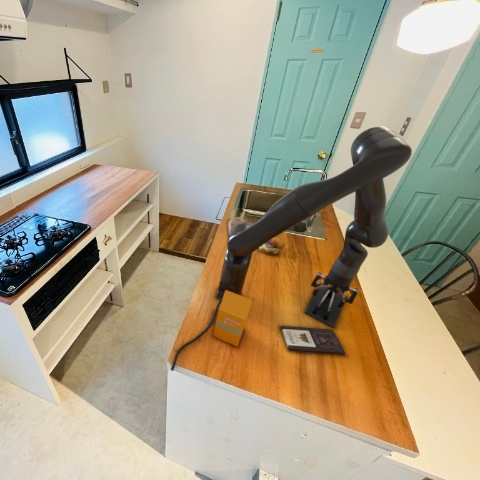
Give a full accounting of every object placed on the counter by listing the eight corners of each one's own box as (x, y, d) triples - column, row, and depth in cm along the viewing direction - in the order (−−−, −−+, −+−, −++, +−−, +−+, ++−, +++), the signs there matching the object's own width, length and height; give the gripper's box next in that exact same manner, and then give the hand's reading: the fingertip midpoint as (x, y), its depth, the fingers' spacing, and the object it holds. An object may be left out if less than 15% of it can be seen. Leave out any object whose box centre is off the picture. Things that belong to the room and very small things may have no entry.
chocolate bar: (345, 352, 84) (289, 348, 85) (344, 354, 84) (289, 350, 85) (332, 329, 91) (281, 325, 92) (331, 331, 92) (280, 327, 93)
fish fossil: (248, 243, 135) (248, 241, 135) (228, 241, 137) (228, 240, 137) (245, 218, 156) (245, 216, 155) (227, 217, 158) (228, 215, 157)
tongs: (323, 290, 107) (326, 285, 105) (336, 296, 105) (340, 291, 103) (312, 313, 98) (315, 307, 96) (326, 320, 95) (329, 315, 93)
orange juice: (237, 347, 86) (250, 308, 75) (212, 335, 90) (221, 297, 78) (243, 329, 92) (255, 291, 80) (219, 319, 95) (228, 281, 84)
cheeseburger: (255, 243, 135) (264, 228, 129) (273, 247, 136) (283, 233, 131) (260, 255, 127) (270, 239, 121) (280, 259, 128) (290, 244, 122)
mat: (333, 328, 93) (333, 327, 93) (304, 313, 98) (305, 312, 98) (346, 296, 106) (346, 295, 105) (320, 284, 111) (320, 283, 111)
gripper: (369, 274, 90) (348, 304, 99) (325, 257, 97) (310, 286, 107) (365, 285, 85) (344, 316, 95) (319, 266, 93) (304, 296, 102)
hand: (326, 300), depth 101 cm, fingers open, 8 cm apart
